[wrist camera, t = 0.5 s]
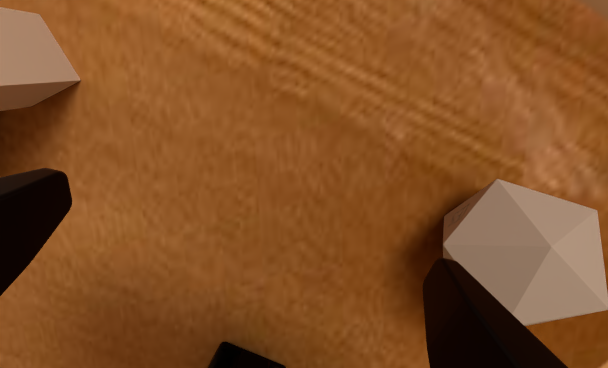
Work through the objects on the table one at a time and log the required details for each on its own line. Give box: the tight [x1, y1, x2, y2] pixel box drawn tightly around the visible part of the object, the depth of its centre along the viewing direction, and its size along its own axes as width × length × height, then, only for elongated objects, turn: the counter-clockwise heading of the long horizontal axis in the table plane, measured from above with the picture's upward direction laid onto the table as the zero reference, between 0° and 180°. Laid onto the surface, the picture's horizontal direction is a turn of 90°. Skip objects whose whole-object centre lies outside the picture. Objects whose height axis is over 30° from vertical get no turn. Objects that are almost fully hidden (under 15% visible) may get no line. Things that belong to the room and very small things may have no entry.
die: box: [443, 179, 608, 326], centre depth 21 cm, size 8×9×10 cm
